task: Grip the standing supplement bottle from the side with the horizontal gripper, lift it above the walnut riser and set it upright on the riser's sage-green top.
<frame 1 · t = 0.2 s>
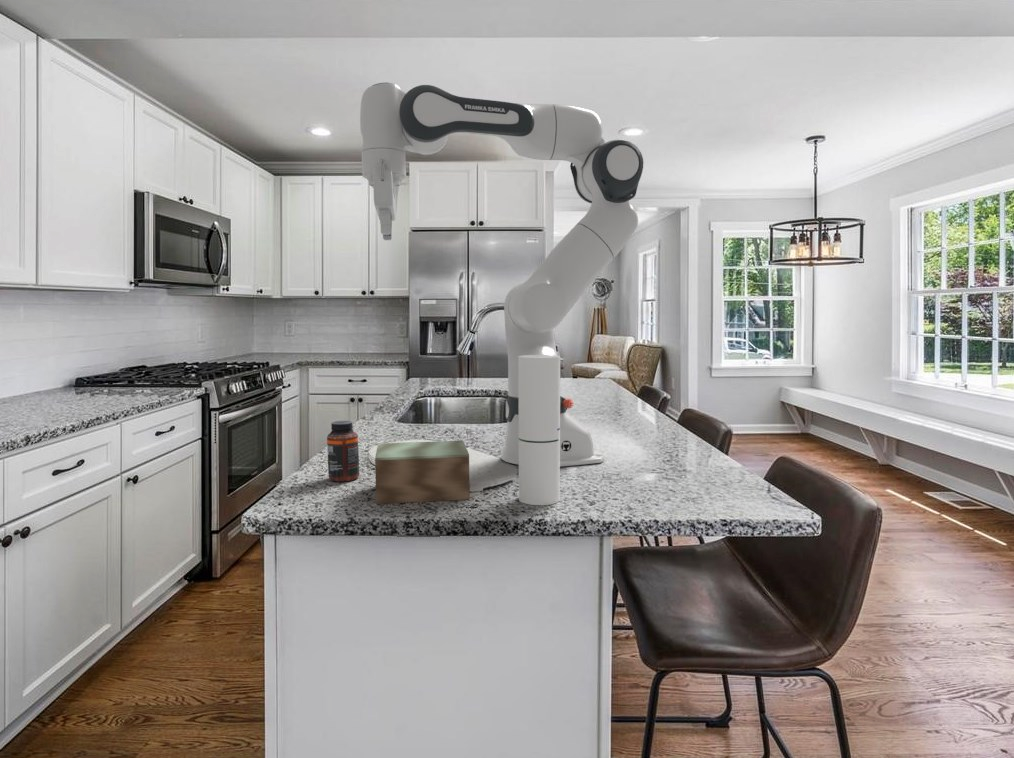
hand: (386, 237, 132), 48 cm above the countertop, tool pointing down, fingers open, 8 cm apart
supplement bottle: (344, 479, 126), on the countertop
riser: (422, 491, 116), on the countertop
cylindrical container: (539, 500, 112), on the countertop
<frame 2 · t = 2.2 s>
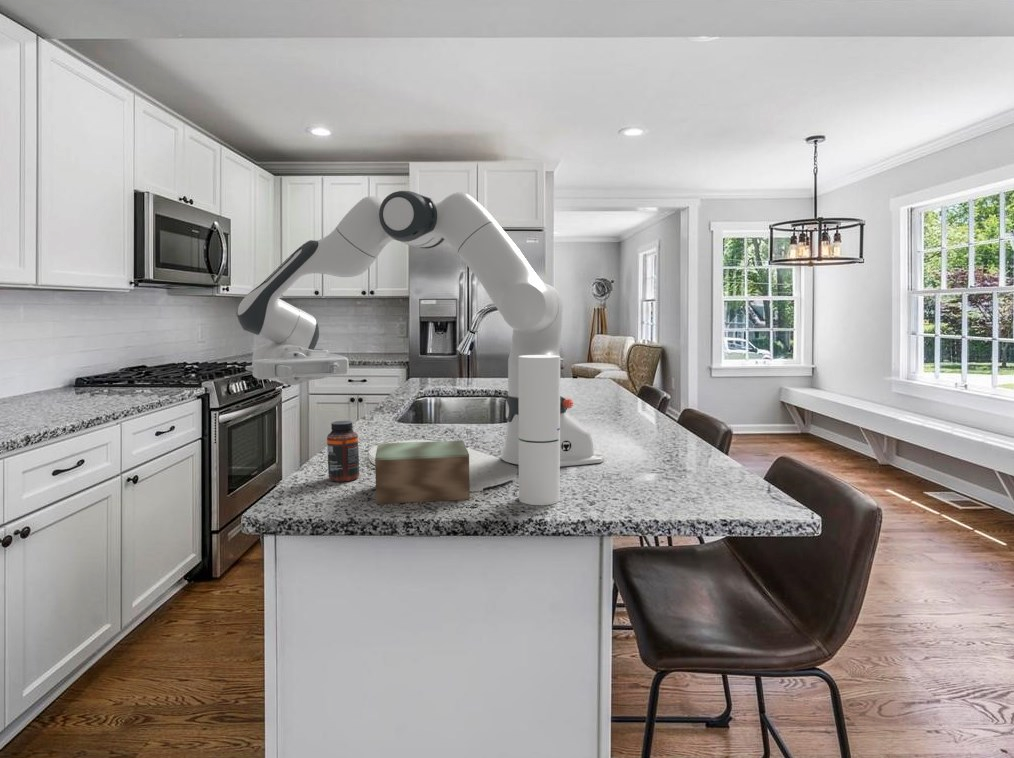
hand: (315, 370, 133), 21 cm above the countertop, tool horizontal, fingers open, 8 cm apart
nothing on the countertop moved.
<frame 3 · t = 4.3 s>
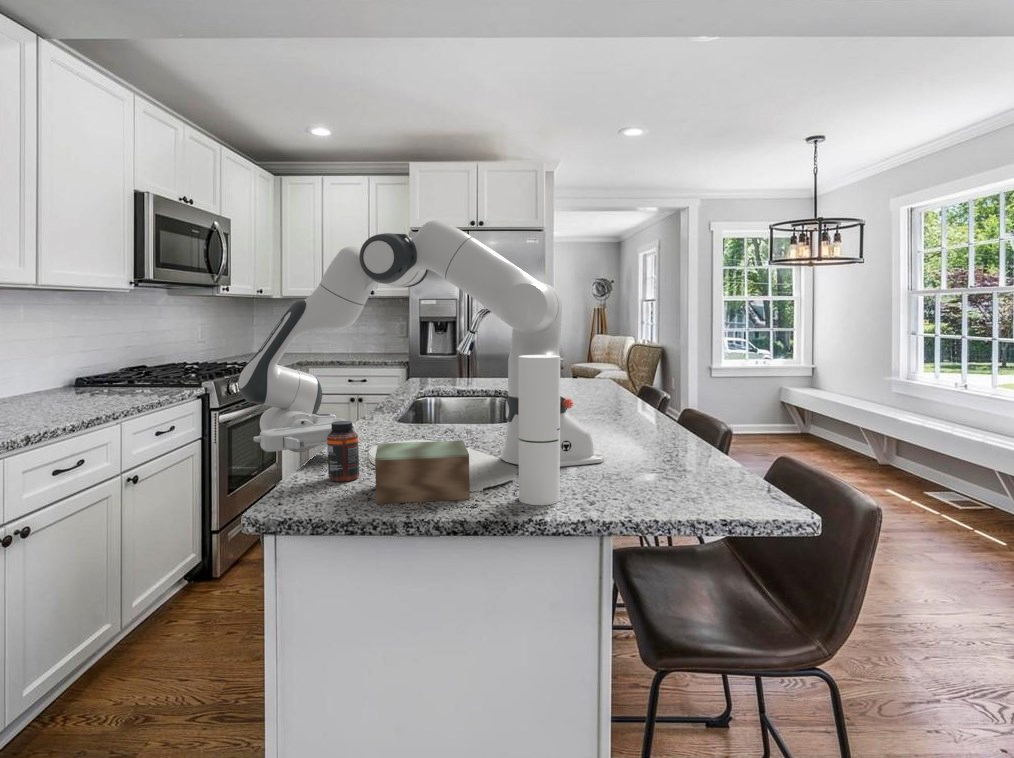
hand: (323, 441, 133), 6 cm above the countertop, tool horizontal, fingers open, 8 cm apart
nothing on the countertop moved.
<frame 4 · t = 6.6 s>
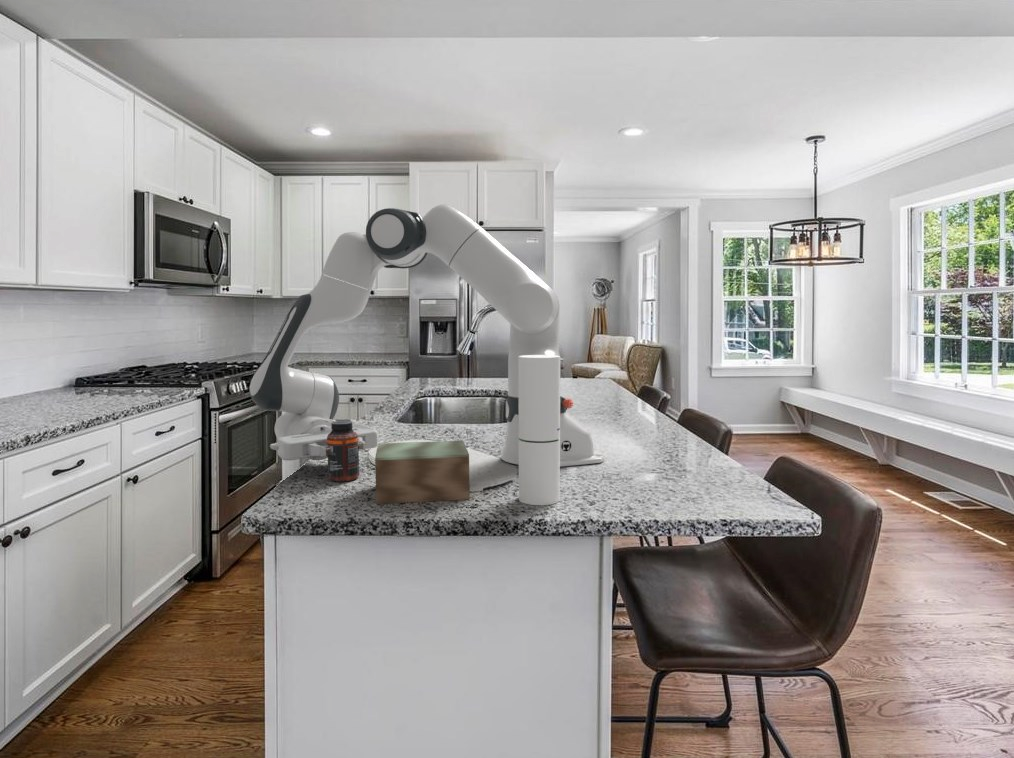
hand: (345, 449, 124), 6 cm above the countertop, tool horizontal, fingers closed on supplement bottle, 6 cm apart
supplement bottle: (344, 479, 126), on the countertop, touching gripper
everything else where it was.
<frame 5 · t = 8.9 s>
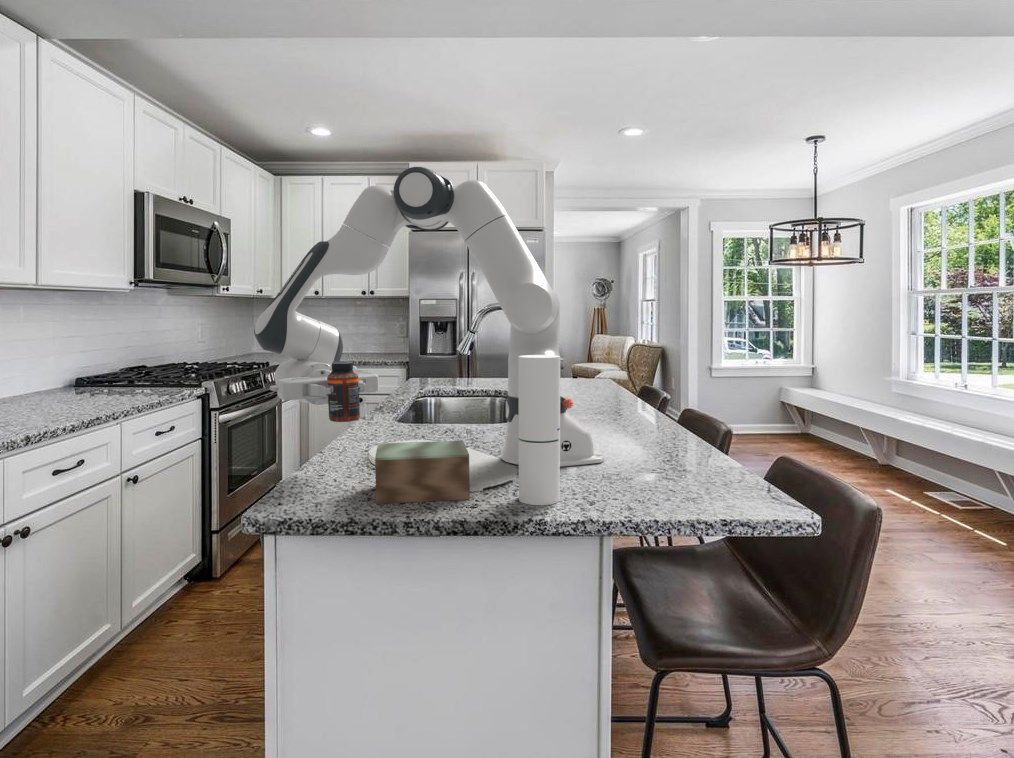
hand: (345, 389, 123), 18 cm above the countertop, tool horizontal, fingers closed on supplement bottle, 6 cm apart
supplement bottle: (344, 421, 124), point 11 cm above the countertop, touching gripper
everything else where it was.
when the fingers open (15 cm above the countertop, at t = 11.4 s): supplement bottle drops 1 cm, resting on riser.
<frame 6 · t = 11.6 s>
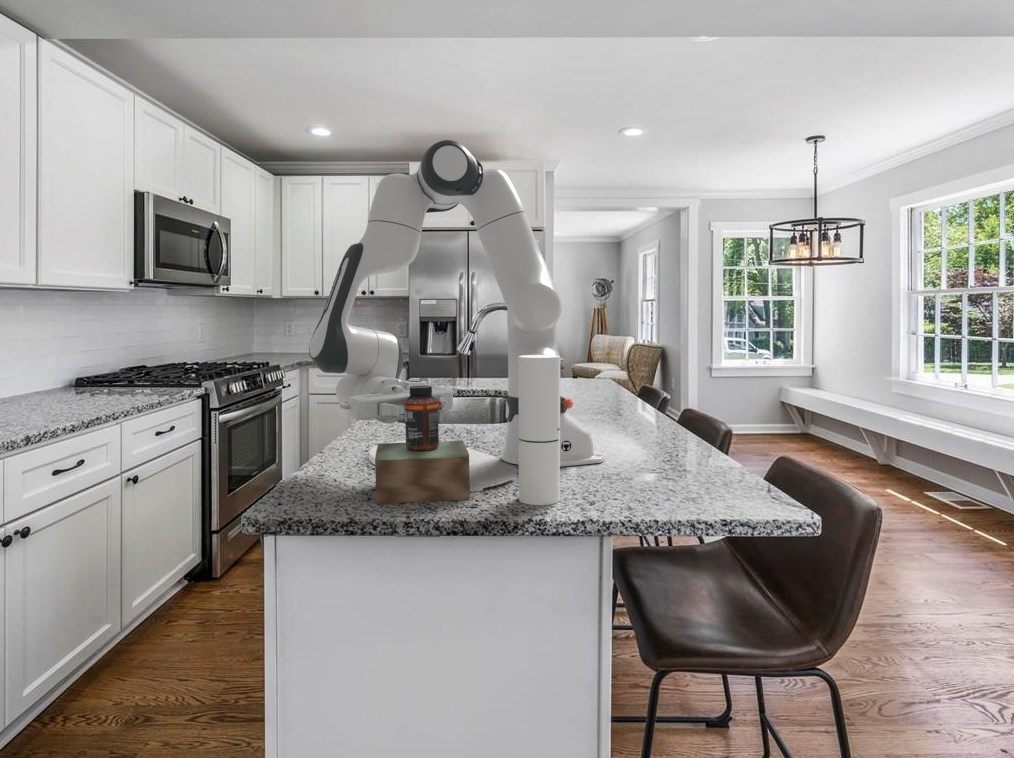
hand: (423, 408, 114), 15 cm above the countertop, tool horizontal, fingers open, 8 cm apart
supplement bottle: (422, 449, 116), point 8 cm above the countertop, touching riser
everything else where it was.
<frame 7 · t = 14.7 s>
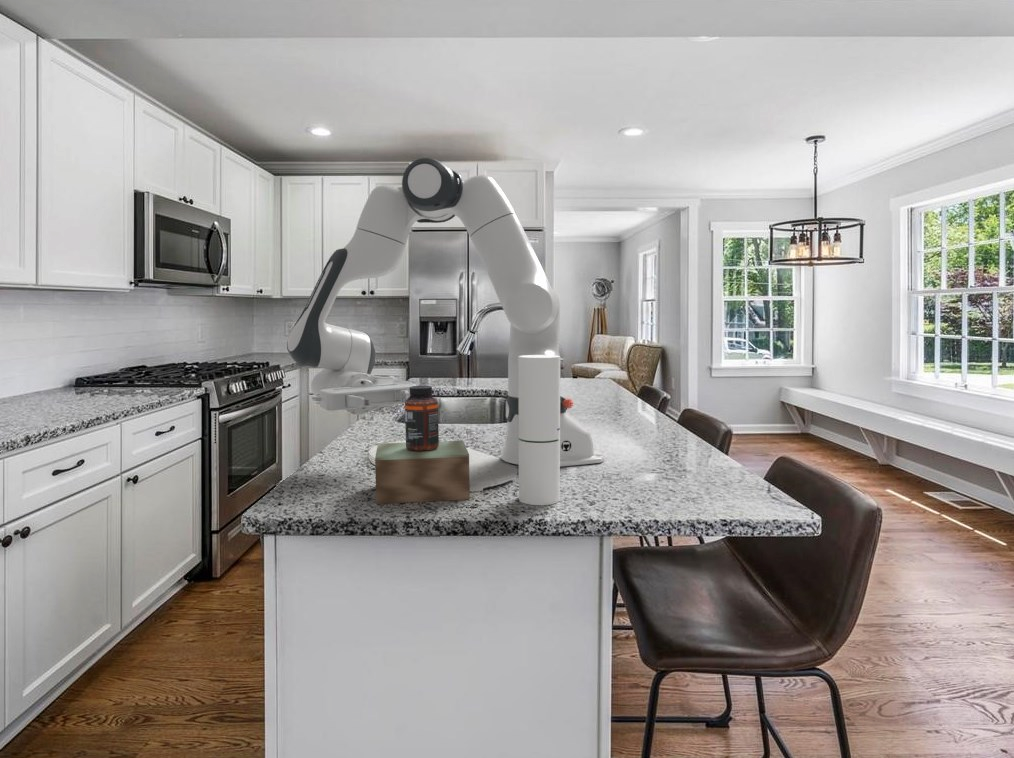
hand: (388, 400, 124), 16 cm above the countertop, tool horizontal, fingers open, 8 cm apart
nothing on the countertop moved.
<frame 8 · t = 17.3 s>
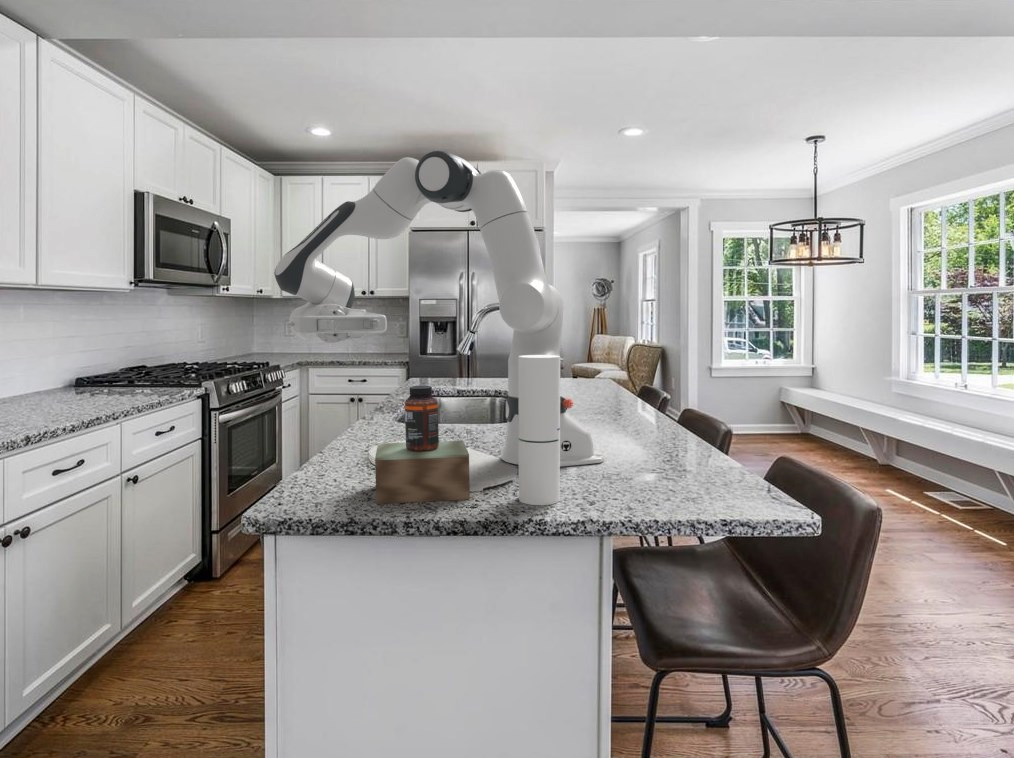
hand: (356, 324, 134), 30 cm above the countertop, tool horizontal, fingers open, 8 cm apart
nothing on the countertop moved.
at the end: supplement bottle inside the target area on the riser (0.1 cm from its centre), point 7.8 cm above the riser's base; supplement bottle tilted 0°; the gripper is holding nothing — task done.
